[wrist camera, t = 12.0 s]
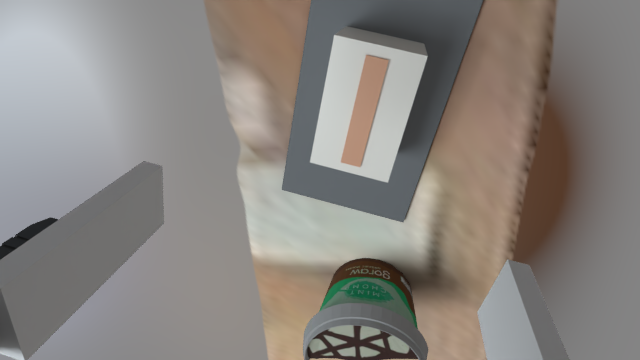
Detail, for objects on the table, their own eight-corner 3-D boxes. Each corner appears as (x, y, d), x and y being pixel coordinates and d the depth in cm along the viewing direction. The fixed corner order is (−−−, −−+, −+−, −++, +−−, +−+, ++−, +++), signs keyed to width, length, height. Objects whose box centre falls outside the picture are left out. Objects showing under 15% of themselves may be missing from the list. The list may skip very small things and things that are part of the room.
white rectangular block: (390, 153, 35) (387, 183, 30) (323, 136, 36) (309, 163, 31) (424, 43, 31) (427, 56, 25) (346, 26, 31) (333, 35, 26)
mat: (325, -82, 28) (324, -83, 28) (499, -47, 27) (500, -48, 27) (282, 187, 40) (281, 189, 40) (403, 220, 39) (403, 222, 39)
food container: (417, 245, 40) (420, 318, 31) (424, 289, 43) (429, 368, 34) (308, 253, 44) (283, 321, 35) (320, 294, 46) (300, 366, 37)
